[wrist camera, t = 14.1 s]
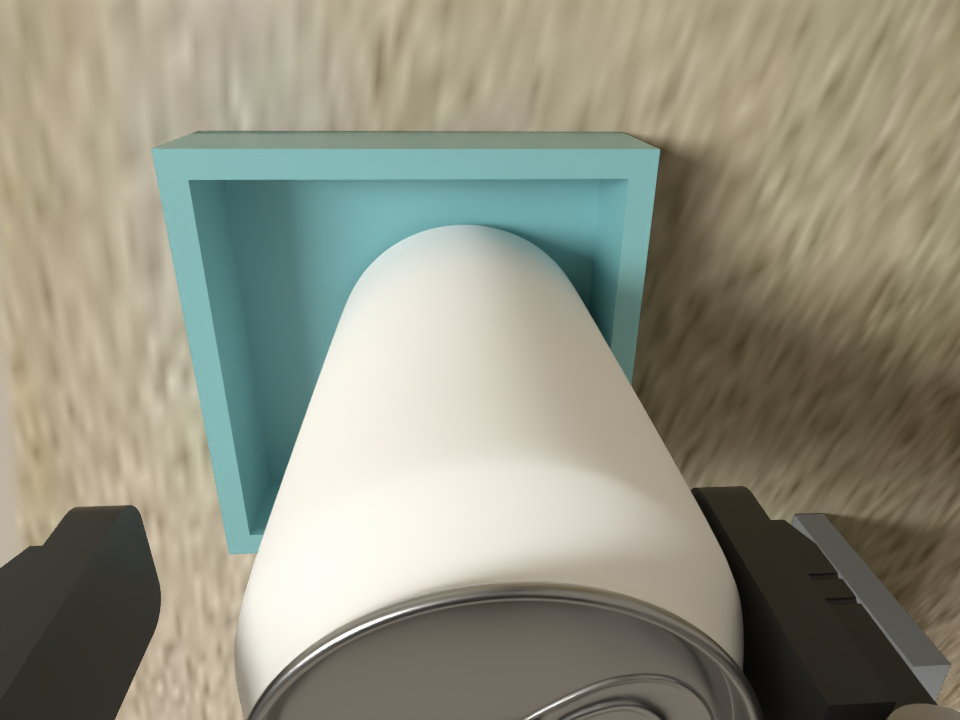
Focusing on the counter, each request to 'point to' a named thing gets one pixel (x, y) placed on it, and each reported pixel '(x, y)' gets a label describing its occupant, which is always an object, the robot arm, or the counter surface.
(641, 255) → the tray
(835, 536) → the bay
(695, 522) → the can
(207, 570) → the counter surface
